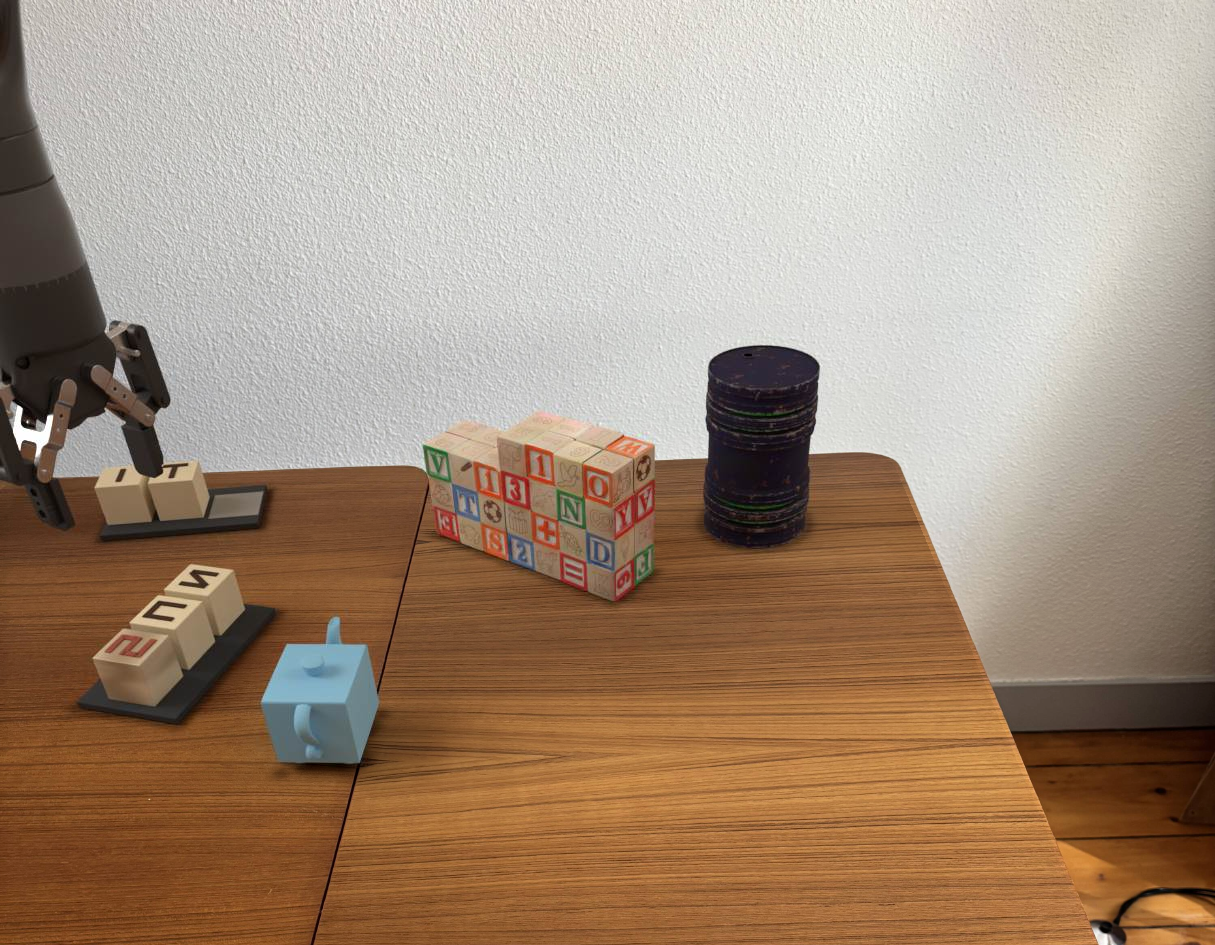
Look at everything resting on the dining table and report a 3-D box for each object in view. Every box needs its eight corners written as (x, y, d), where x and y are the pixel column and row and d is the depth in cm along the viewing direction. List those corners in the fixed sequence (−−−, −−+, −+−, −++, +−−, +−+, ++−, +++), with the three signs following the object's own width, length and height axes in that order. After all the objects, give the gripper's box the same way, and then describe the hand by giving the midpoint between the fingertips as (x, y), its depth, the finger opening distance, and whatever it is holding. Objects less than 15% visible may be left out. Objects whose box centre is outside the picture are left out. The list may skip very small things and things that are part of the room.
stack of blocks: (434, 535, 108) (415, 410, 100) (477, 508, 112) (462, 385, 103) (616, 603, 99) (612, 471, 90) (656, 571, 102) (656, 441, 94)
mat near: (78, 707, 90) (57, 659, 87) (186, 600, 101) (171, 553, 98) (177, 725, 88) (159, 675, 85) (276, 613, 99) (264, 566, 96)
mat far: (101, 541, 109) (84, 496, 106) (118, 501, 115) (103, 458, 112) (258, 528, 110) (246, 483, 107) (267, 489, 116) (256, 446, 113)
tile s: (108, 699, 90) (91, 656, 87) (138, 669, 93) (122, 626, 90) (155, 707, 89) (138, 664, 86) (183, 676, 92) (168, 633, 89)
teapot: (315, 685, 91) (294, 606, 86) (389, 686, 91) (373, 606, 86) (275, 785, 82) (250, 703, 77) (357, 786, 82) (337, 703, 77)
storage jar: (825, 534, 106) (843, 376, 96) (732, 558, 104) (739, 398, 93) (774, 489, 113) (785, 336, 103) (685, 510, 110) (687, 356, 100)
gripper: (67, 223, 77) (142, 450, 88) (-117, 290, 68) (-9, 534, 79) (148, 236, 74) (215, 468, 85) (-33, 308, 65) (68, 558, 76)
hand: (107, 499), depth 82 cm, fingers open, 8 cm apart
